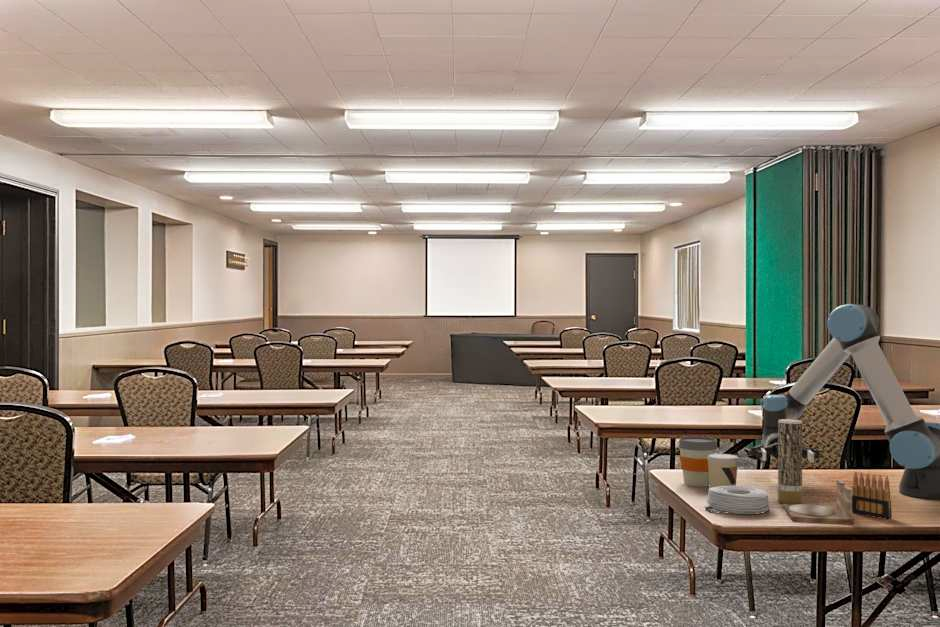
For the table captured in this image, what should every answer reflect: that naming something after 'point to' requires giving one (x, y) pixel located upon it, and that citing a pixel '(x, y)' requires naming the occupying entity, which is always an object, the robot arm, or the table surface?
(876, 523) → the table surface
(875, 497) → the ammunition clip
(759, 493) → the cable
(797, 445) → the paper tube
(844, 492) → the base
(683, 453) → the reusable coffee cup
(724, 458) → the coffee cup
